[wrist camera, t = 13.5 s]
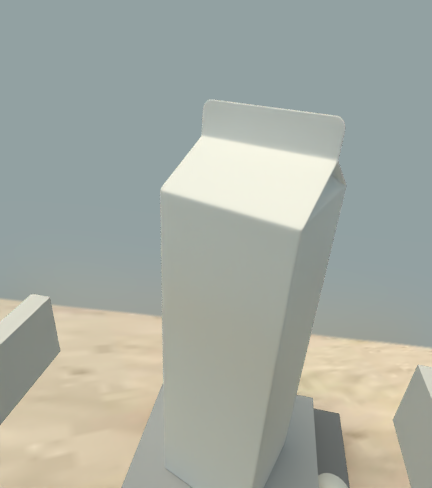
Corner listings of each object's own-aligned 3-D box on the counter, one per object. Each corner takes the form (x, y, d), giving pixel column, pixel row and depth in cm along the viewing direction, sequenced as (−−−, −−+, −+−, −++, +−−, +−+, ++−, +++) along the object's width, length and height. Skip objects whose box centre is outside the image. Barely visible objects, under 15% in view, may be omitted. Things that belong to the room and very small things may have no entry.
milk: (212, 402, 27) (237, 95, 17) (286, 444, 25) (366, 109, 15) (162, 470, 23) (155, 102, 13) (245, 531, 20) (323, 125, 10)
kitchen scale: (333, 429, 30) (344, 398, 28) (360, 652, 19) (380, 624, 17) (164, 394, 32) (164, 364, 30) (95, 577, 21) (88, 545, 19)
